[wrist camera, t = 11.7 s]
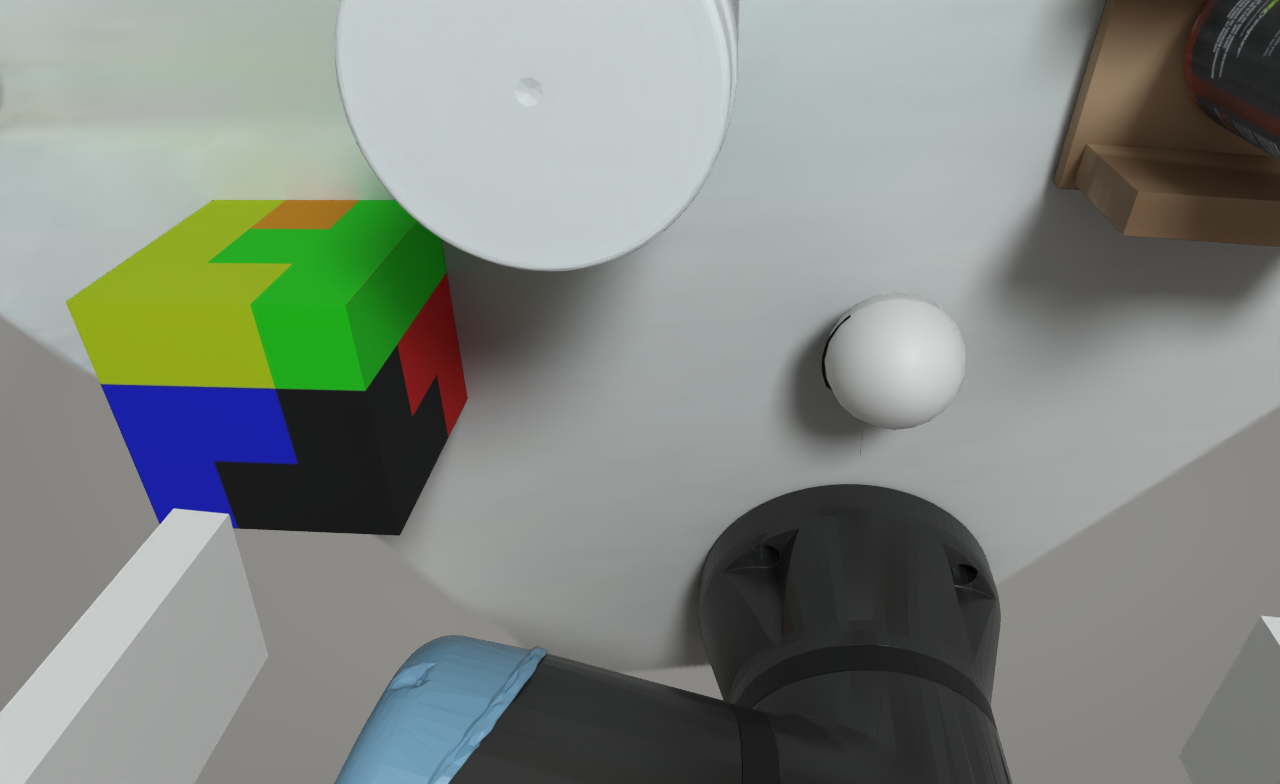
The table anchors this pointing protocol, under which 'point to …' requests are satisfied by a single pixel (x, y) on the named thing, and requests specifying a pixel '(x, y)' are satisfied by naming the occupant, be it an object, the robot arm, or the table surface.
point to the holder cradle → (1162, 138)
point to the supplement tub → (540, 117)
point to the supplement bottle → (1238, 68)
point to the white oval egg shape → (895, 361)
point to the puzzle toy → (281, 363)
